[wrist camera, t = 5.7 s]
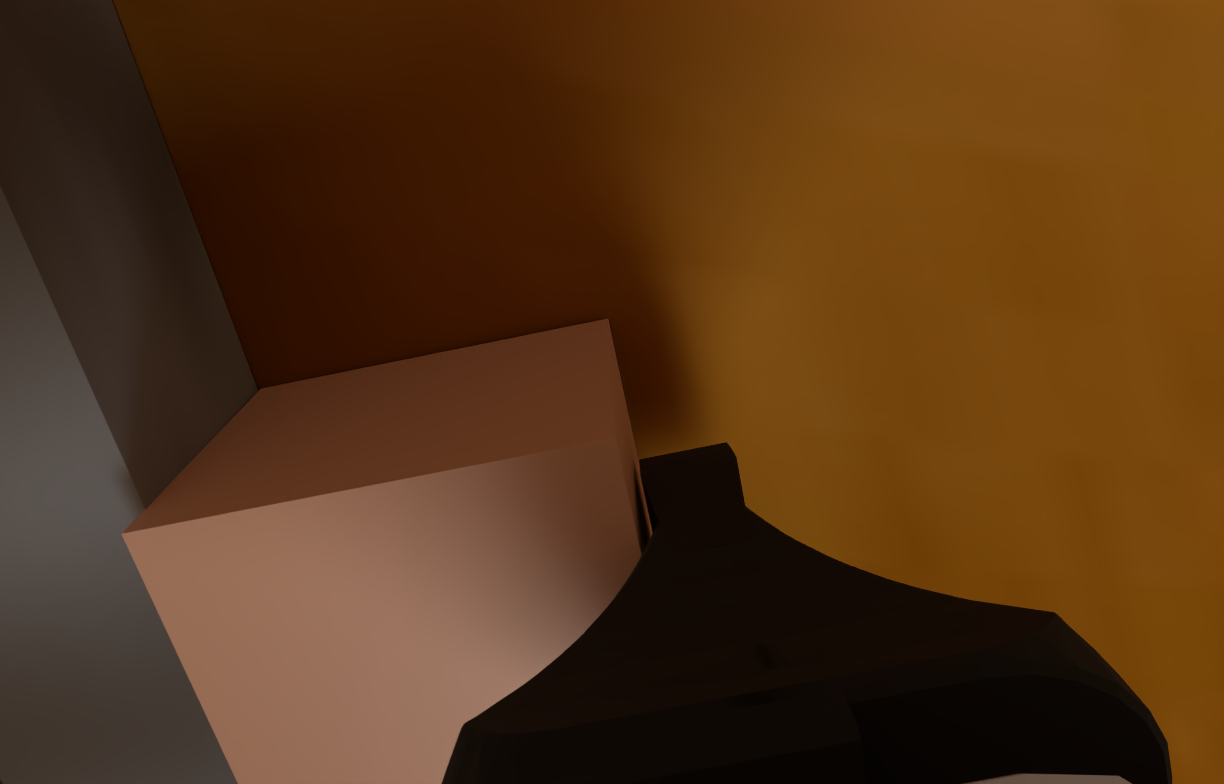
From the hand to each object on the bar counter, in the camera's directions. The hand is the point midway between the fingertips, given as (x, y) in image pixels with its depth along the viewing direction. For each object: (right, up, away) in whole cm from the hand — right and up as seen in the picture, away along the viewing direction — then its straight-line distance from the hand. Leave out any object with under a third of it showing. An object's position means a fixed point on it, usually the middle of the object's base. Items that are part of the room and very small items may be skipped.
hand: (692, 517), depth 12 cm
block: (-3, 0, +1) cm, 3 cm away
